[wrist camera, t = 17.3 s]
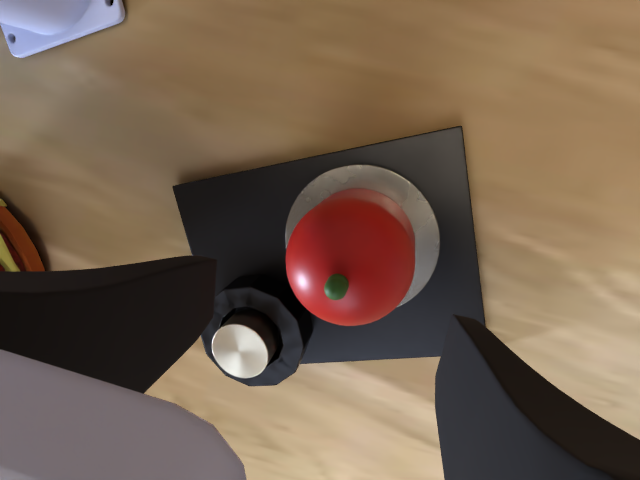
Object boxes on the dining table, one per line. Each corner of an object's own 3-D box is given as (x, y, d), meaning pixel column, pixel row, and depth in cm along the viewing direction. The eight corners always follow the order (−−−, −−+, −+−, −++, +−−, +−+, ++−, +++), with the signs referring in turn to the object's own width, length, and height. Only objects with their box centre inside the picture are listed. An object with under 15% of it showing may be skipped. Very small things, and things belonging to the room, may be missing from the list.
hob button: (220, 312, 22) (204, 326, 20) (271, 306, 21) (259, 321, 19) (234, 361, 22) (220, 379, 21) (284, 358, 22) (274, 377, 20)
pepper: (307, 182, 18) (259, 206, 13) (422, 194, 17) (426, 225, 12) (302, 286, 20) (256, 348, 14) (407, 302, 19) (404, 377, 13)
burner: (272, 179, 19) (269, 180, 19) (427, 149, 17) (428, 149, 17) (303, 317, 21) (302, 320, 21) (449, 304, 19) (450, 307, 19)
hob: (177, 184, 23) (149, 191, 20) (460, 125, 18) (467, 124, 16) (229, 363, 25) (209, 388, 23) (487, 349, 21) (496, 377, 19)
